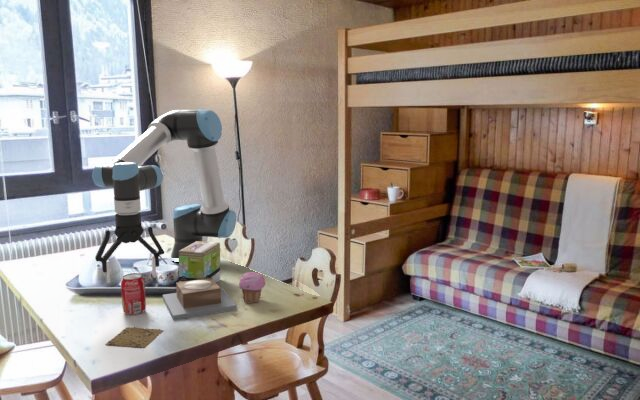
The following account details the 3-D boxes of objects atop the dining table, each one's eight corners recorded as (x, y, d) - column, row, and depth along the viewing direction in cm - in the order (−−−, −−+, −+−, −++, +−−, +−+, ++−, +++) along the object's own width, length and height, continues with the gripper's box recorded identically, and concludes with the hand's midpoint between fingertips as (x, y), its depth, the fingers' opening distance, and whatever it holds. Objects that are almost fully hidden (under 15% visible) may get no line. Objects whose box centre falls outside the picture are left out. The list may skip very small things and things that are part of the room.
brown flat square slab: (145, 350, 145) (144, 346, 145) (104, 346, 147) (103, 343, 147) (164, 331, 157) (164, 328, 156) (126, 328, 159) (126, 325, 158)
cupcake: (242, 296, 184) (241, 268, 182) (267, 296, 184) (266, 268, 182) (237, 305, 175) (236, 276, 174) (263, 306, 175) (262, 277, 173)
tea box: (205, 292, 188) (203, 252, 185) (178, 290, 190) (176, 250, 187) (221, 279, 202) (220, 241, 200) (196, 277, 204) (195, 240, 202)
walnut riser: (176, 296, 179) (175, 281, 179) (212, 291, 184) (211, 276, 184) (183, 309, 169) (182, 293, 168) (221, 303, 174) (220, 287, 173)
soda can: (136, 306, 175) (133, 271, 173) (151, 310, 172) (148, 274, 169) (118, 313, 169) (115, 277, 167) (133, 318, 166) (130, 281, 163)
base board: (162, 298, 182) (162, 294, 181) (220, 290, 190) (220, 286, 190) (173, 320, 164) (173, 315, 164) (236, 309, 172) (236, 305, 172)
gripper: (84, 218, 156) (89, 287, 160) (171, 211, 166) (174, 277, 170) (83, 213, 163) (88, 280, 166) (167, 207, 173) (170, 270, 177)
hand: (131, 279), depth 168 cm, fingers open, 13 cm apart
